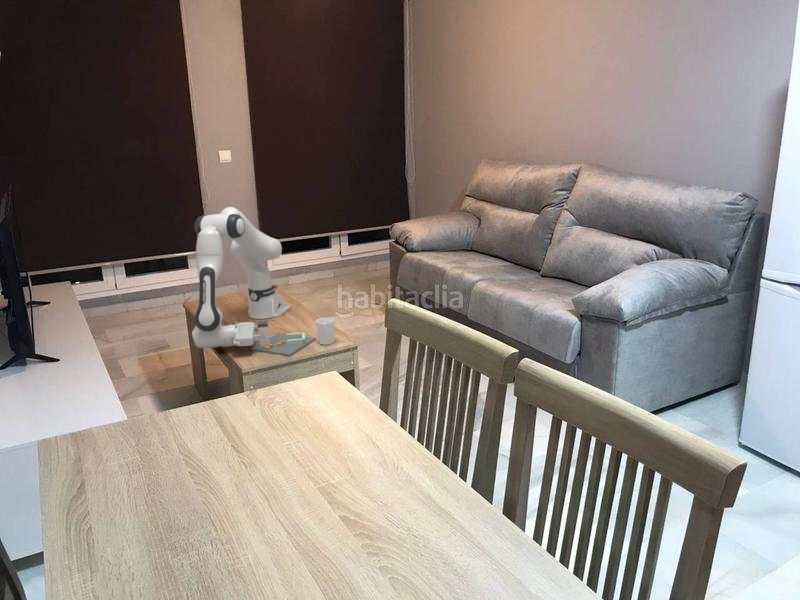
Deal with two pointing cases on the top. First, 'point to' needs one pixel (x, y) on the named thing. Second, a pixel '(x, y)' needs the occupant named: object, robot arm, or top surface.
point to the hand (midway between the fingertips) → (265, 332)
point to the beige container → (264, 330)
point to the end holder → (296, 341)
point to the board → (282, 345)
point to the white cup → (325, 330)
